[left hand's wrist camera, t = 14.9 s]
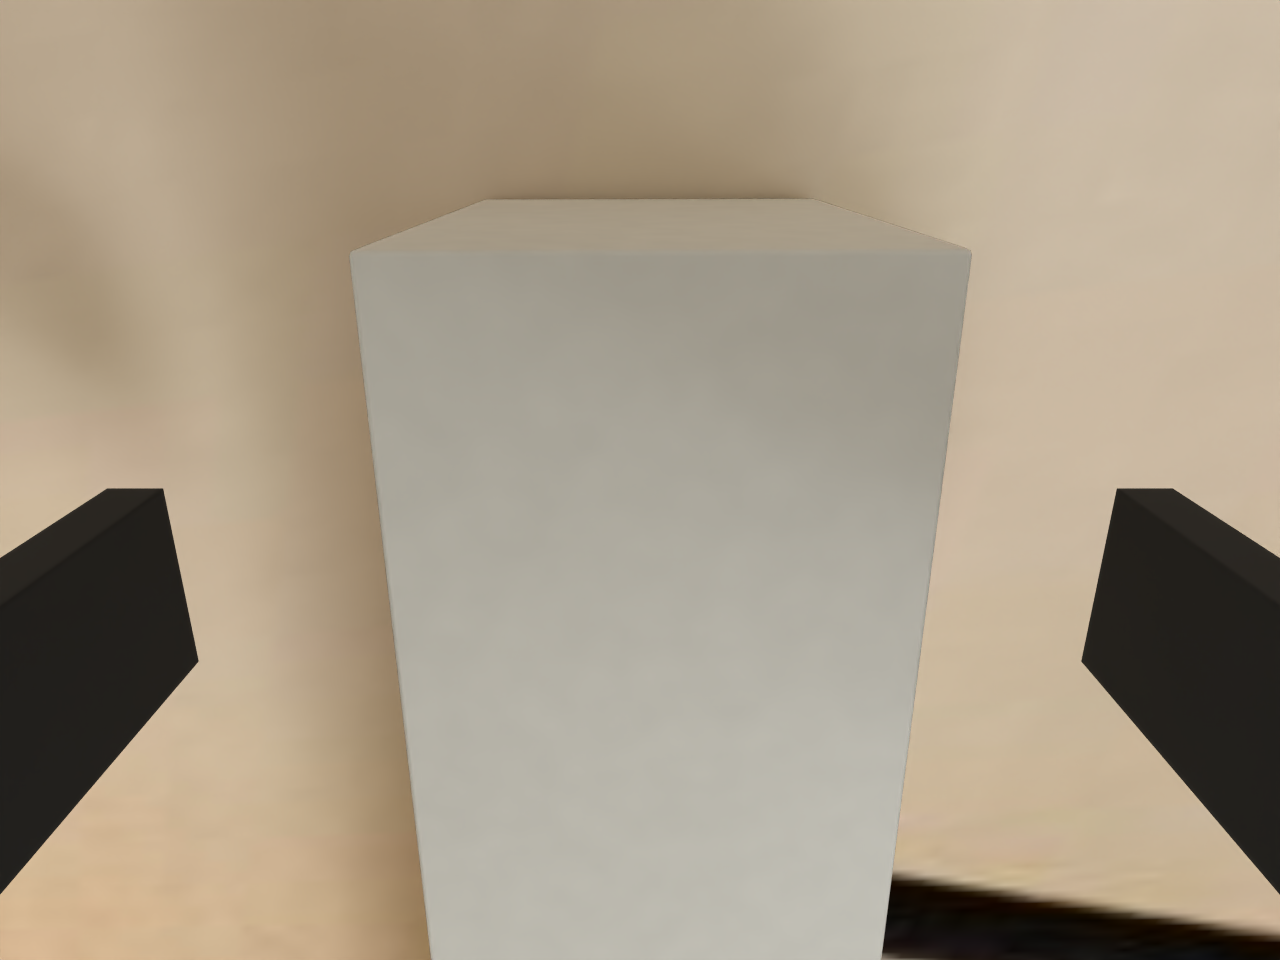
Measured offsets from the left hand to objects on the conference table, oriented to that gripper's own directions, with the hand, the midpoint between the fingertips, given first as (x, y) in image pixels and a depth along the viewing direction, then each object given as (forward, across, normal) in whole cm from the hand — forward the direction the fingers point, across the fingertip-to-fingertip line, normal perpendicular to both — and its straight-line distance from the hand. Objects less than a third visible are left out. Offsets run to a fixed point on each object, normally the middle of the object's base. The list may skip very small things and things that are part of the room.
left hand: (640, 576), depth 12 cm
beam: (+4, 0, -37) cm, 37 cm away
